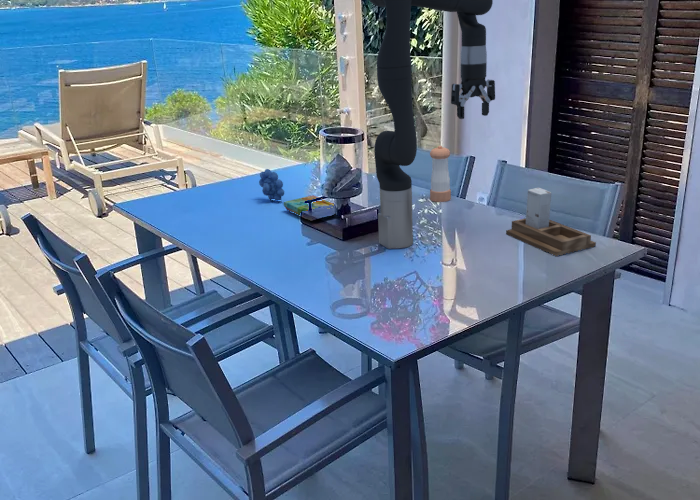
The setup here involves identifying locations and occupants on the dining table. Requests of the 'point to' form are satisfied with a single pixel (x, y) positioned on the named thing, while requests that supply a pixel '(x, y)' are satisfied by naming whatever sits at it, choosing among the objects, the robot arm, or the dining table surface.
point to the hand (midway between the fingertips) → (473, 117)
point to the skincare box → (538, 208)
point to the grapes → (271, 185)
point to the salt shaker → (440, 175)
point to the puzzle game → (304, 204)
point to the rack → (551, 237)
